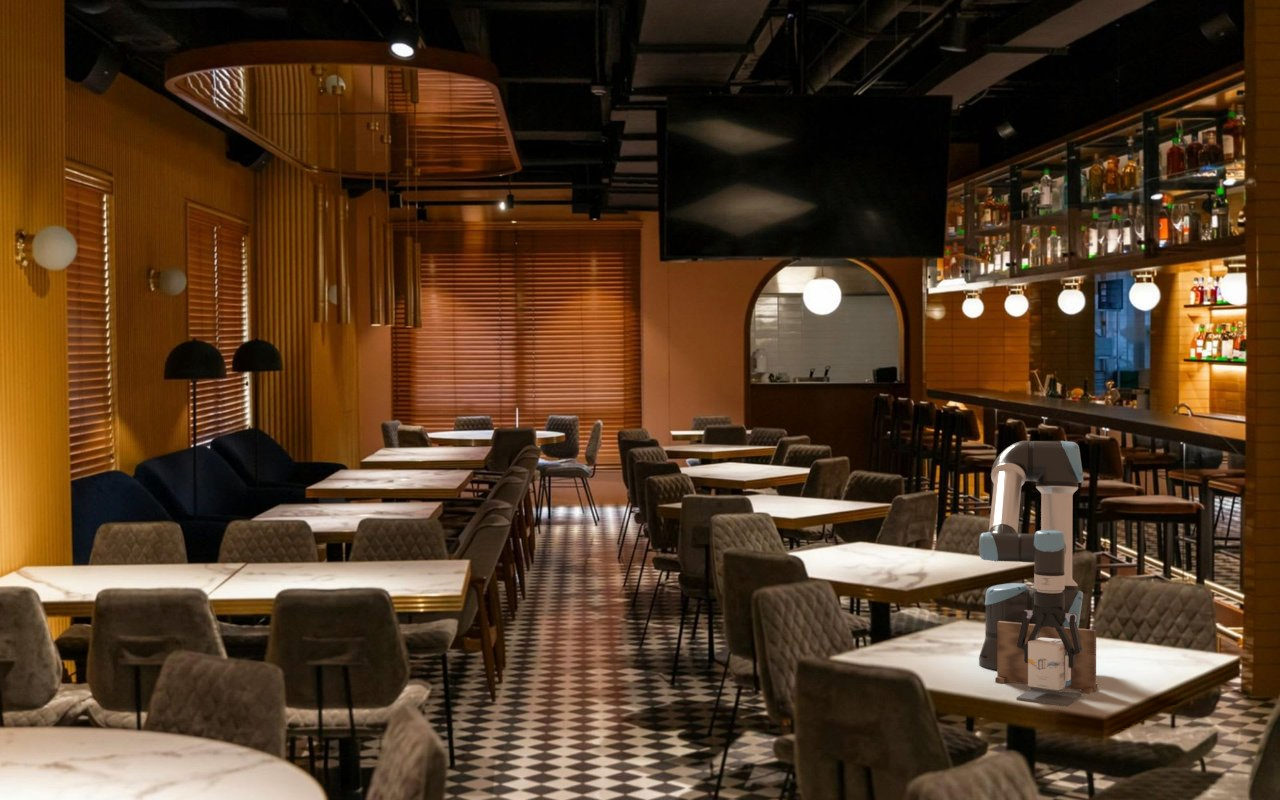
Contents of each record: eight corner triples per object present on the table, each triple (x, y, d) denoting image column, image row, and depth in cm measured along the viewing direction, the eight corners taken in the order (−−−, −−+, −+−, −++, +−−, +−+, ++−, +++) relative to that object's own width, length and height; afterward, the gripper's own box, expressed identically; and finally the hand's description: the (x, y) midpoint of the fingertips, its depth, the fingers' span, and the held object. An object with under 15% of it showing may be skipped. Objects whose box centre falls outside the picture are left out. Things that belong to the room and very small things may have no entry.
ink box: (1040, 680, 362) (1040, 636, 361) (1071, 685, 356) (1071, 639, 356) (1026, 686, 355) (1026, 641, 355) (1058, 690, 350) (1058, 644, 349)
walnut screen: (994, 682, 374) (994, 623, 374) (1002, 677, 380) (1002, 619, 380) (1091, 693, 360) (1091, 632, 360) (1098, 688, 366) (1098, 628, 366)
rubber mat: (1016, 699, 354) (1016, 697, 354) (1031, 689, 365) (1031, 687, 365) (1067, 706, 347) (1067, 703, 347) (1081, 695, 358) (1081, 693, 358)
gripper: (1003, 589, 358) (1003, 675, 358) (1087, 596, 346) (1087, 685, 347) (1012, 585, 364) (1012, 670, 365) (1095, 592, 353) (1095, 680, 353)
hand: (1049, 677), depth 356 cm, fingers closed on ink box, 9 cm apart
